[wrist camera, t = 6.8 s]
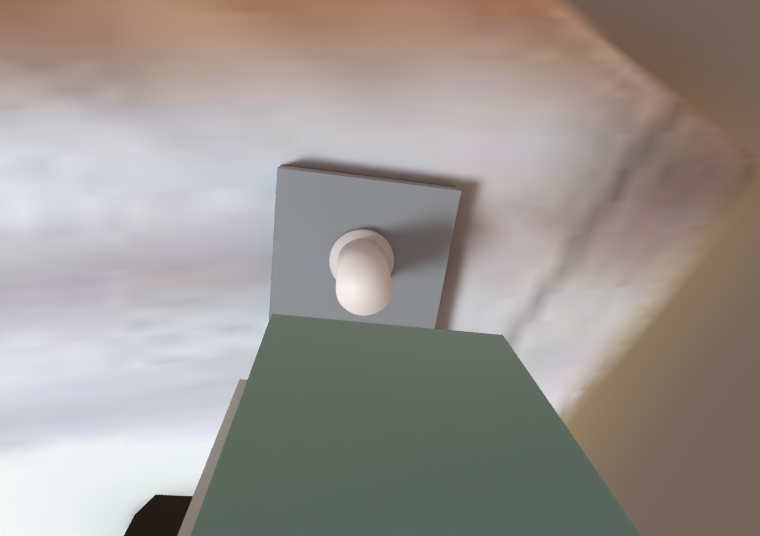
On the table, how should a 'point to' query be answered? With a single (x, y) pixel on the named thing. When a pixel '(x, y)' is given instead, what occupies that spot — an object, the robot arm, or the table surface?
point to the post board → (360, 207)
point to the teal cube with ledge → (399, 441)
